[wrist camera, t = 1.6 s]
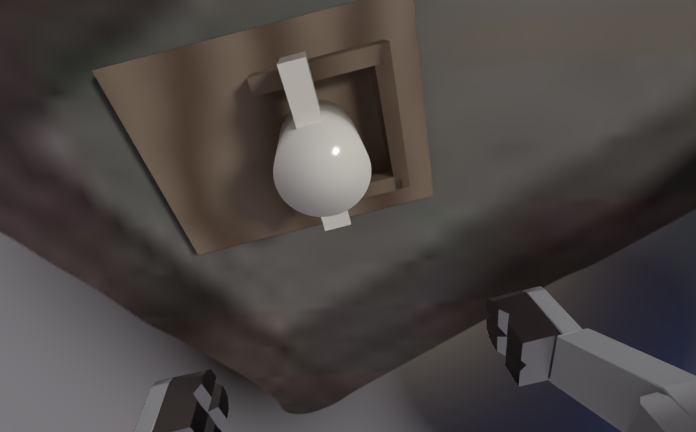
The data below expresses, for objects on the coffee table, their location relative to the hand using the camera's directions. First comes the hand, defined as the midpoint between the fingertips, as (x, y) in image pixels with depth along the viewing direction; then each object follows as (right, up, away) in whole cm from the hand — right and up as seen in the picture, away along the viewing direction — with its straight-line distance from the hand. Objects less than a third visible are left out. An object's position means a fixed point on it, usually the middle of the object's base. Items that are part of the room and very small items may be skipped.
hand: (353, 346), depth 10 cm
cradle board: (-4, +10, +18) cm, 21 cm away
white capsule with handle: (-3, +11, +16) cm, 20 cm away
